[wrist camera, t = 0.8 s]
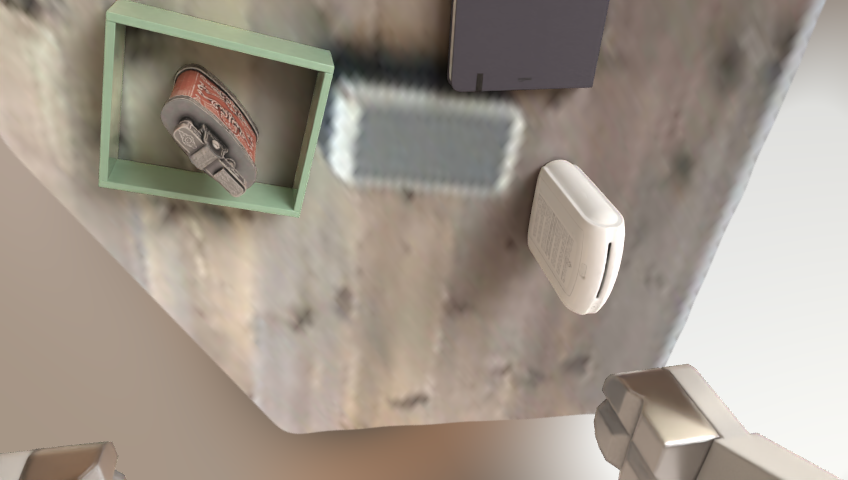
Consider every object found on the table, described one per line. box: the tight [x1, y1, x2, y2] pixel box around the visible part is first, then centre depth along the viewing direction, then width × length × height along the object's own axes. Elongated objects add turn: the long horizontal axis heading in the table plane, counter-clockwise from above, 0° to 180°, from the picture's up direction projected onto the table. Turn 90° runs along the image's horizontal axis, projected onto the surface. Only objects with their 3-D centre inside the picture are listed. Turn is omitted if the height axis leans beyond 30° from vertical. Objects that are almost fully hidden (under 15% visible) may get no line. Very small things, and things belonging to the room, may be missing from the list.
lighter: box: [161, 64, 259, 197], centre depth 44 cm, size 8×3×10 cm, turn 32°
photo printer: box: [528, 160, 625, 315], centre depth 55 cm, size 10×4×12 cm, turn 178°
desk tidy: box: [98, 0, 334, 218], centre depth 47 cm, size 13×15×4 cm
